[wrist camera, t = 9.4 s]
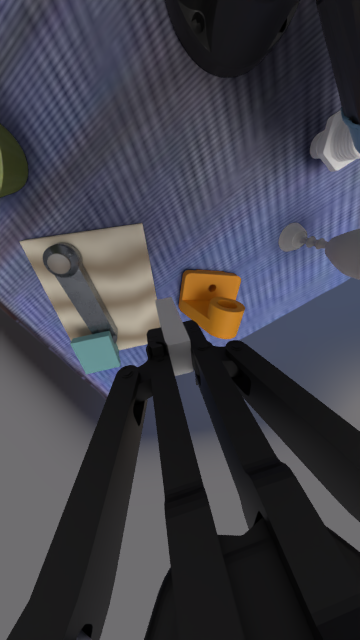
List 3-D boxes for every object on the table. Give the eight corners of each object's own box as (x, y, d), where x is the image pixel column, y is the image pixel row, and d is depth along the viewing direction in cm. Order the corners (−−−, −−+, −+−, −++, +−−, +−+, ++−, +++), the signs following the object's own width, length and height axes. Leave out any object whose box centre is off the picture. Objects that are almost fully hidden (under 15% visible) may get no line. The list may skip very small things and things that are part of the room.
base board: (24, 239, 28) (4, 246, 23) (141, 223, 30) (143, 226, 26) (82, 353, 40) (76, 372, 35) (163, 335, 42) (167, 351, 37)
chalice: (278, 217, 34) (395, 228, 19) (312, 214, 35) (448, 221, 20) (271, 259, 38) (363, 296, 23) (301, 255, 39) (409, 287, 24)
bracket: (235, 272, 38) (273, 297, 28) (226, 305, 41) (257, 338, 31) (182, 268, 35) (203, 294, 25) (177, 304, 39) (194, 339, 29)
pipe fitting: (316, 182, 33) (364, 176, 26) (290, 152, 30) (337, 137, 23) (346, 139, 30) (407, 121, 24) (322, 102, 27) (384, 69, 21)
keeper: (77, 327, 35) (70, 343, 31) (111, 320, 36) (108, 335, 32) (91, 356, 39) (86, 374, 35) (121, 349, 39) (120, 366, 35)
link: (42, 247, 27) (35, 251, 25) (72, 238, 28) (67, 241, 26) (101, 341, 37) (99, 349, 35) (123, 334, 37) (122, 342, 35)
